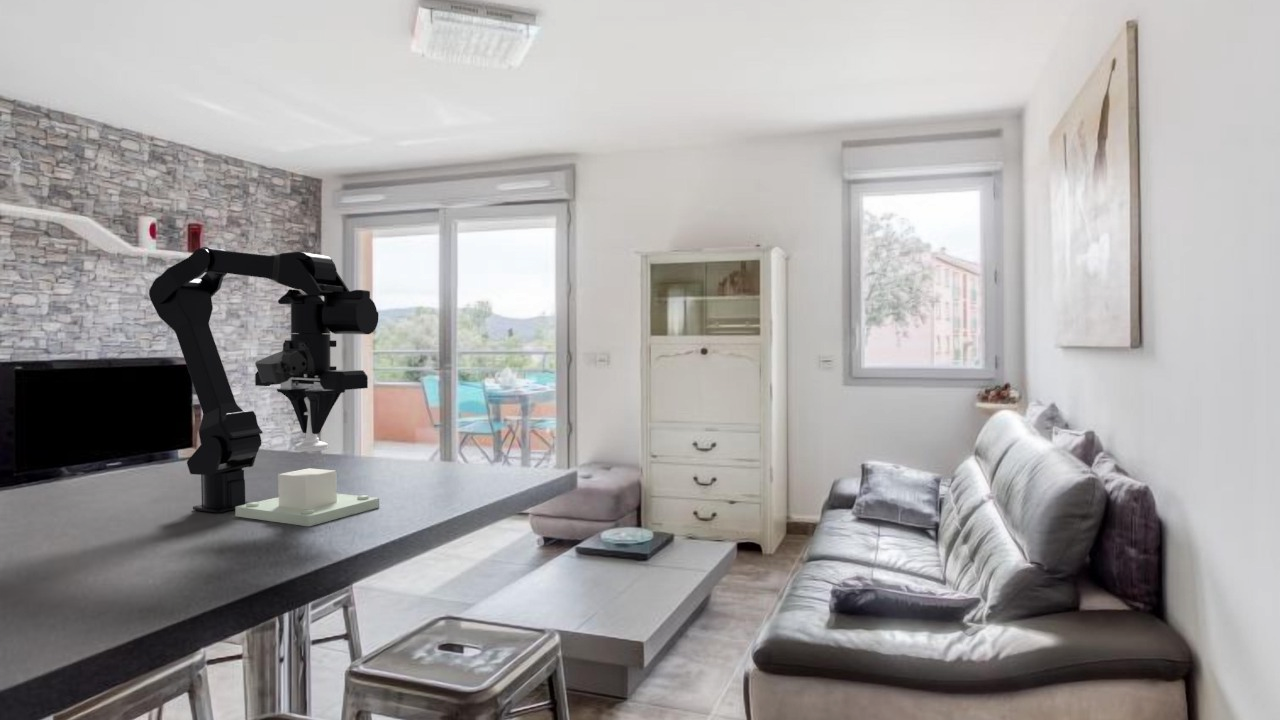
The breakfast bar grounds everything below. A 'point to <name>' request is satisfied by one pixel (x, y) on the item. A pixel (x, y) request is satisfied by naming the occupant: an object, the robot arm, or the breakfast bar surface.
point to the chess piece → (310, 434)
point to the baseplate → (307, 510)
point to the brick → (307, 488)
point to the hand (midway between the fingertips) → (311, 433)
